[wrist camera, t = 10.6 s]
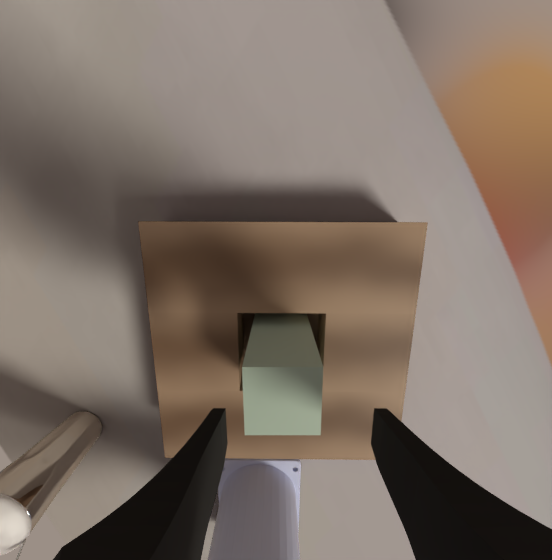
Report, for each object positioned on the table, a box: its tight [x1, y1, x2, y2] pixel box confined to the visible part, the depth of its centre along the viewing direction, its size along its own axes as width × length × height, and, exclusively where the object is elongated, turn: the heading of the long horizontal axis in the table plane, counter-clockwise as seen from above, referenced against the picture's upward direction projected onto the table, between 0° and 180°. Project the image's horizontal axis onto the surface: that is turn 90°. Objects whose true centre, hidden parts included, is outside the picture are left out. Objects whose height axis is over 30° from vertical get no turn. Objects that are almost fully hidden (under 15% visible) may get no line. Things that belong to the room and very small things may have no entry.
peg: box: [242, 313, 323, 435], centre depth 17 cm, size 4×4×8 cm
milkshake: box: [0, 411, 102, 560], centre depth 19 cm, size 4×5×10 cm
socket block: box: [138, 221, 427, 460], centre depth 20 cm, size 18×18×4 cm
